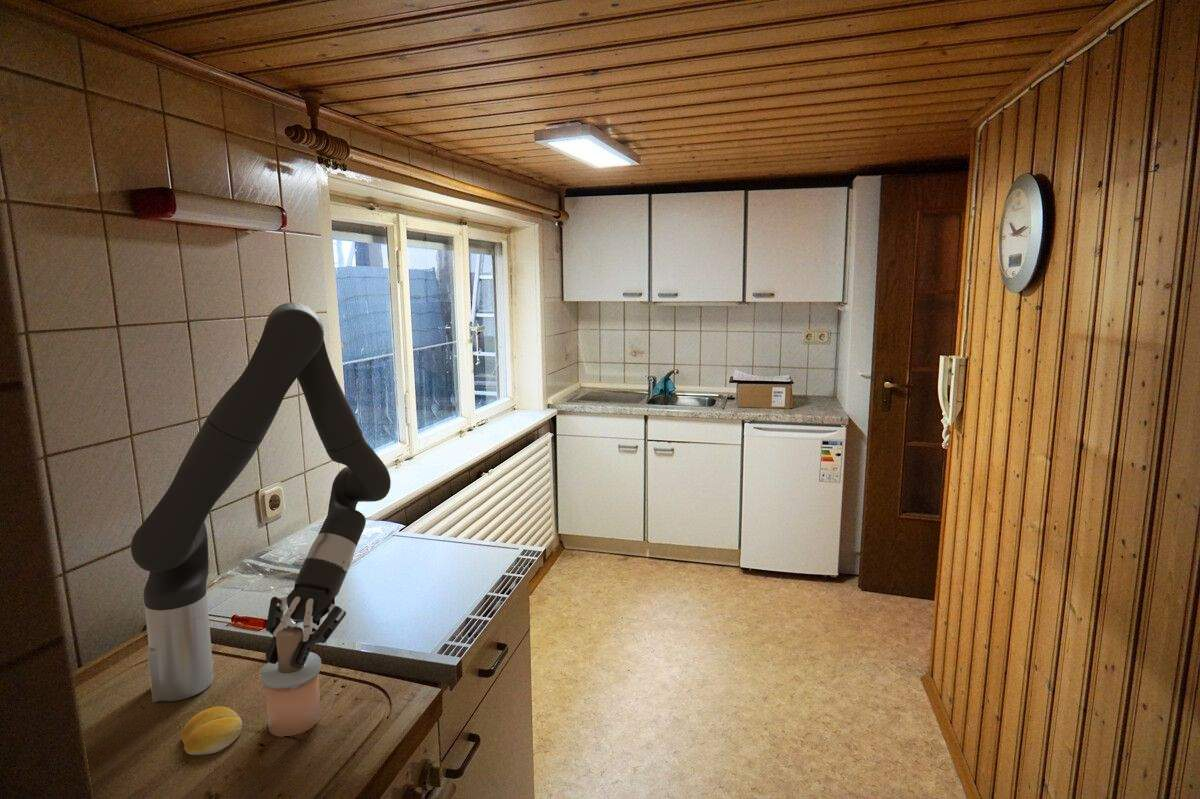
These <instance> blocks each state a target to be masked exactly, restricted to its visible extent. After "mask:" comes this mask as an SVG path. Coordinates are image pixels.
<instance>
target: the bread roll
mask: <svg viewBox="0 0 1200 799" xmlns="http://www.w3.org/2000/svg"><path fill="white" fill-rule="evenodd" d="M242 729H243V721H242V719H241V717H240V716H239V714H238V713H237V712H236V711H235V710H234V709H231V708H230V707H227V706H213V707H209V708H207V709H203V710H202V711H200V712H198V713H197V714H195V715H194V716H193V717H192V718H189V720H188V722H186V723H185V725H184V726H183V727H182V731H181V737H180V738H181V740H182V742H183V744H184V745H183V749H184V751H185V752H186V753H187V754H188V755H192V756H203V755H210V754H211V755H213V754H215V753H218V752H220V751H222V750H224V749H226V748H227V747H229V746H230V745H232V744H233V743H234V741H236V740H237V738H238V737H239V736H240V735H241V732H242Z"/></svg>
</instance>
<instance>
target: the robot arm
mask: <svg viewBox="0 0 1200 799" xmlns="http://www.w3.org/2000/svg"><path fill="white" fill-rule="evenodd" d="M324 331H325V330H324V326H323V322H322V320H321V318H320V317H319V315H318V314H317V312H316V311H315V310H313V308H311V307H309V306H307V305H306V304H304V303H303V304H302V303H300V302H285V303H282V304H280V305H278V306H277V307H275V308H274V309H273V310H271V312H270V313H269V315H268V316H267V318H266V321H265V324H264V327H263V330H262V333H261V336H260V339H259V341H258V343H257V346H256V347H255V350H254V352H253V353H252V355H251V358H250V360H249V362H248V364H247V365H246V366H245V369H244V371H242V374H241V375H240V376H239V377H238V379H237V380H236V381H235V382H233V384H232V385H231V387H229V389H227V390H226V392H225V393H224V394H223V395H222V397H221V398H220V399H219V400H218V402H217V403H216V404H215V406H214V407H213V409H212V410H211V411H210V413H209V414H208V415H207V417H206V419H205V420H204V422H203V424H202V426H201V427H200V429H199V431H198V432H197V434H196V436H195V437H194V439H193V442H191V445H190V447H189V449H188V450H187V452H186V454H185V456H184V458H183V459H182V462H181V463H180V465H179V467H178V469H177V470H176V474H175V476H174V478H173V479H172V482H171V483H170V485H169V487H168V488H167V490H166V492H165V493H164V494H163V496H162V498H160V500H159V501H158V503H157V504H156V506H154V508H153V510H151V512H150V514H148V516H147V517H146V518H145V520H144V521H143V522H142V523H141V524H140V526H139V527H138V528H137V529H136V531H135V532H134V534H133V536H132V539H131V542H130V552H131V556H132V559H133V560H134V562H135V564H136V565H137V566H138V567H140V569H142V570H143V571H147V572H148V573H149V574H148V578H147V581H146V582H145V583H146V584H145V585H144V589H143V601H144V602H143V603H144V612H145V622H146V632H147V642H148V647H147V661H148V669H149V671H148V672H149V680H150V691H151V698H152V699H151V700H152V703H157V702H176V701H180V700H181V701H182V700H186V699H188V698H191V697H194V696H196V695H199V694H200V693H202V692H204V691H205V690H206V689H208V688H210V686H211V685H212V684H213V682H214V678H215V677H214V676H215V675H214V665H213V652H212V651H213V650H212V640H211V639H212V638H211V631H210V630H211V629H210V628H211V626H210V616H209V604H208V593H207V592H208V591H207V581H208V577H209V571H210V570H209V569H210V568H209V566H210V565H209V564H210V563H209V561H210V560H209V541H208V529H207V526H206V525H207V524H206V522H205V521H206V519H207V517H208V515H209V514H210V512H211V510H212V509H213V507H214V506H215V504H216V503H217V502H218V501H219V499H220V498H221V497H222V496H223V494H225V493H226V491H227V490H228V489H229V488H230V486H232V484H233V483H234V482H235V481H236V479H237V478H238V477H239V476H240V475H241V473H242V472H243V471H244V469H245V468H246V467H247V465H248V464H249V463H250V461H251V459H252V458H253V457H254V455H255V453H256V451H257V449H258V448H259V446H260V445H261V443H262V441H264V438H265V436H266V434H267V433H268V431H269V429H270V427H271V426H272V423H273V422H274V419H275V417H276V416H277V413H278V411H279V409H280V407H281V405H282V402H283V400H284V398H285V397H286V394H287V393H288V391H289V389H290V388H291V387H292V385H293V384H294V382H295V381H296V379H297V381H298V383H299V386H300V388H301V391H302V394H303V396H304V399H305V402H306V405H307V407H308V410H309V413H310V416H311V420H312V421H313V424H314V426H315V427H314V428H315V430H316V431H317V433H318V436H319V438H320V441H321V443H322V445H323V447H324V449H325V451H326V453H327V456H328V457H329V459H330V460H331V461H333V462H335V463H337V464H340V465H344V466H346V467H343V468H342V469H341V470H340V471H339V472H338V473H337V474H336V476H335V478H334V480H333V482H332V484H331V485H332V486H331V490H330V497H329V502H328V507H327V508H328V509H327V515H326V518H324V521H323V524H322V526H321V528H320V530H319V532H318V534H317V536H316V537H315V539H314V541H313V543H312V544H311V546H310V548H309V551H308V553H307V554H306V556H305V559H304V561H303V563H302V565H301V567H300V568H299V571H298V574H297V576H296V578H295V580H294V586H293V589H292V590H291V591H290V592H289V593H288V595H287V596H285V597H281V598H279V597H278V596H273V597H271V599H270V602H269V609H268V615H267V620H266V625H265V630H266V632H268V633H269V634H271V635H272V639H271V641H270V644H269V645H268V649H267V650H266V653H265V661H266V662H267V663H268V662H269V663H271V664H276V663H277V661H278V659H277V644H276V634H277V633H278V632H279V631H281V630H283V629H285V628H289V627H299V625H300V624H301V623H302V625H303V636H302V642H299V644H298V646H297V648H296V651H295V653H294V655H293V658H292V660H291V662H290V666H292V667H294V668H300V667H301V666H302V665H304V663H305V662H306V660H307V657H308V655H309V653H310V652H311V650H312V648H313V646H314V645H315V644H316V645H317V644H325V643H326V642H328V640H329V638H330V637H331V636H332V634H333V632H334V631H336V628H338V626H339V625H340V623H341V622H342V621H343V620H344V618H345V617H346V614H347V611H345V610H344V609H343V608H342V607H340V606H338V605H336V602H335V600H336V597H337V596H338V595H339V593H340V590H341V588H342V586H343V583H344V581H345V579H346V576H347V575H348V571H349V569H350V567H351V564H352V561H353V559H354V556H355V552H356V549H357V546H358V544H359V542H360V539H361V537H362V534H363V533H364V532H363V531H364V529H365V527H366V524H367V523H366V521H367V519H366V516H365V515H364V514H363V513H362V512H360V511H359V510H357V505H358V503H359V502H360V503H363V502H364V503H368V502H369V503H370V502H371V503H372V502H379V501H381V500H383V499H385V498H386V497H387V495H388V494H389V493H390V490H391V486H392V485H391V483H392V482H391V475H390V473H389V470H388V468H387V466H386V465H385V464H384V461H383V460H382V459H381V458H380V457H379V455H378V454H377V452H376V451H375V450H374V449H373V448H372V447H371V446H370V444H369V443H368V442H367V441H366V439H365V436H364V435H363V434H364V433H363V432H362V429H361V428H360V424H359V423H358V421H357V418H356V416H355V414H354V412H353V409H352V407H351V406H350V403H349V402H348V399H347V396H345V393H344V391H343V389H342V386H341V385H340V383H339V380H338V378H337V376H336V374H335V371H334V369H333V366H332V363H331V361H330V357H329V354H328V352H327V348H326V347H327V346H326V344H325V338H324V337H325V332H324ZM284 611H285V612H284ZM326 615H327V616H326ZM324 616H326V617H325V619H324V620H323V618H324ZM322 620H323V621H322Z"/></svg>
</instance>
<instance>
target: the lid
mask: <svg viewBox="0 0 1200 799" xmlns="http://www.w3.org/2000/svg"><path fill="white" fill-rule="evenodd" d="M303 631H304V628H301V627H299V626H298V627H289V628H285V629H283V630H281V631H279V632H278V633H277V634H276V644H277V659H278V661H277V663H276V664H271V663H269V662H267V663H266V664H265V665H264V666H263V667H262V669H261V671H260V680H261V683H262V684H263V685H264V686H265V685H266V686H268V687H271V688H278V689H281V688H291V690H293V689H297V688H299V685H301V684H303V683H305V682H308V681H309V680H311V679H312V678H314V677H315V676H316V675H317V674H319V673H320V671H321V669H322V659H321V657H320V656H319V654H318V653H315V652H312V651H310V653H309V655H308V657H307V660H306V662H305V663H304V665H302V666H301V667H300V668H294V667H292V666H290V662H291V660H292V658H293V655H294V653H295V651H296V648H297V646H298V644H299V642H302V636H303Z"/></svg>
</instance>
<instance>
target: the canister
mask: <svg viewBox="0 0 1200 799" xmlns="http://www.w3.org/2000/svg"><path fill="white" fill-rule="evenodd" d="M264 686H265V698H266V699H265V702H266V712H267V715H266V716H267V728H268V731H269V733H270V734H271V735H273V736H274V737H275V736H276V737H280V738H285V737H284V736H290V737H292V736H291V735H295V734H298V735H300V734H299V733H301V734H303V733H302V732H304V731H306V730H308V729H309V730H311V729H312V728H313V727H315V726H316V725H317V724H318V722H319V721H320V719H321V698H320V697H321V695H320V679H319V673H318V674H317V675H316V676H315V677H314V678H312V679H311V680H309V681H308V682H305V683H303V684H301V685H299V688H297V689H293V690H291V688H281V689H278V688H271V687H268V686H266V685H264ZM314 725H315V726H314ZM310 728H311V729H310ZM309 730H308V731H309ZM306 732H307V731H306ZM304 733H305V732H304ZM295 736H296V735H295Z"/></svg>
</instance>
